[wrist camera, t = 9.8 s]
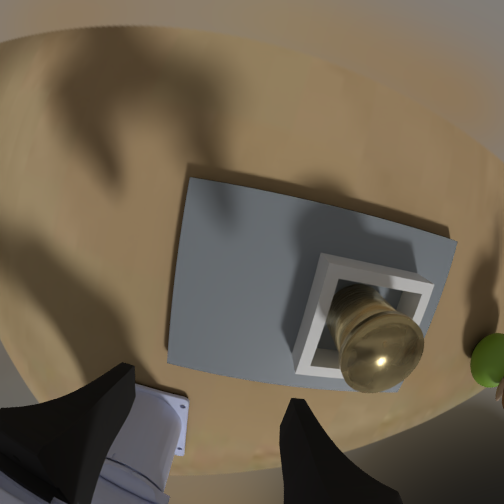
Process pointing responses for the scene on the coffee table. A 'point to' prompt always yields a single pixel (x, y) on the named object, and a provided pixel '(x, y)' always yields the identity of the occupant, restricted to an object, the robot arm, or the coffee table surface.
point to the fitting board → (287, 281)
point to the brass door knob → (372, 339)
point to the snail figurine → (489, 363)
